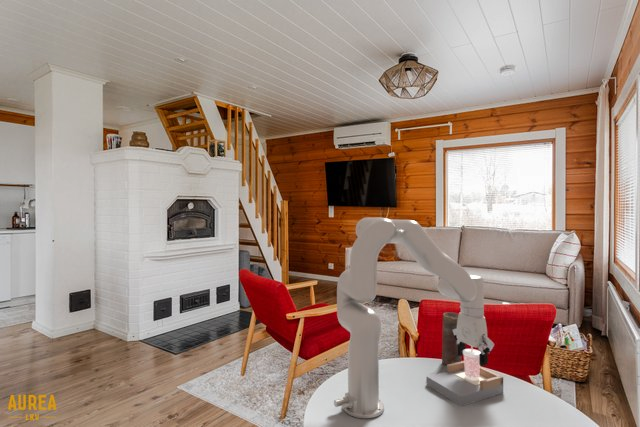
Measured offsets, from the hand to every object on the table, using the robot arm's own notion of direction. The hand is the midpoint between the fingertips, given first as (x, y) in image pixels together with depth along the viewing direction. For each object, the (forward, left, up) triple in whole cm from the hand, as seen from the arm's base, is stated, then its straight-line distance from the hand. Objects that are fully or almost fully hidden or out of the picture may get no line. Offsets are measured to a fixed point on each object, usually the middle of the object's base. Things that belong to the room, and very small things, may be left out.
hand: (472, 359), depth 132 cm
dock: (-4, 0, -9) cm, 10 cm away
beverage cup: (0, 0, -6) cm, 6 cm away
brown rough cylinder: (+8, +18, -10) cm, 22 cm away
